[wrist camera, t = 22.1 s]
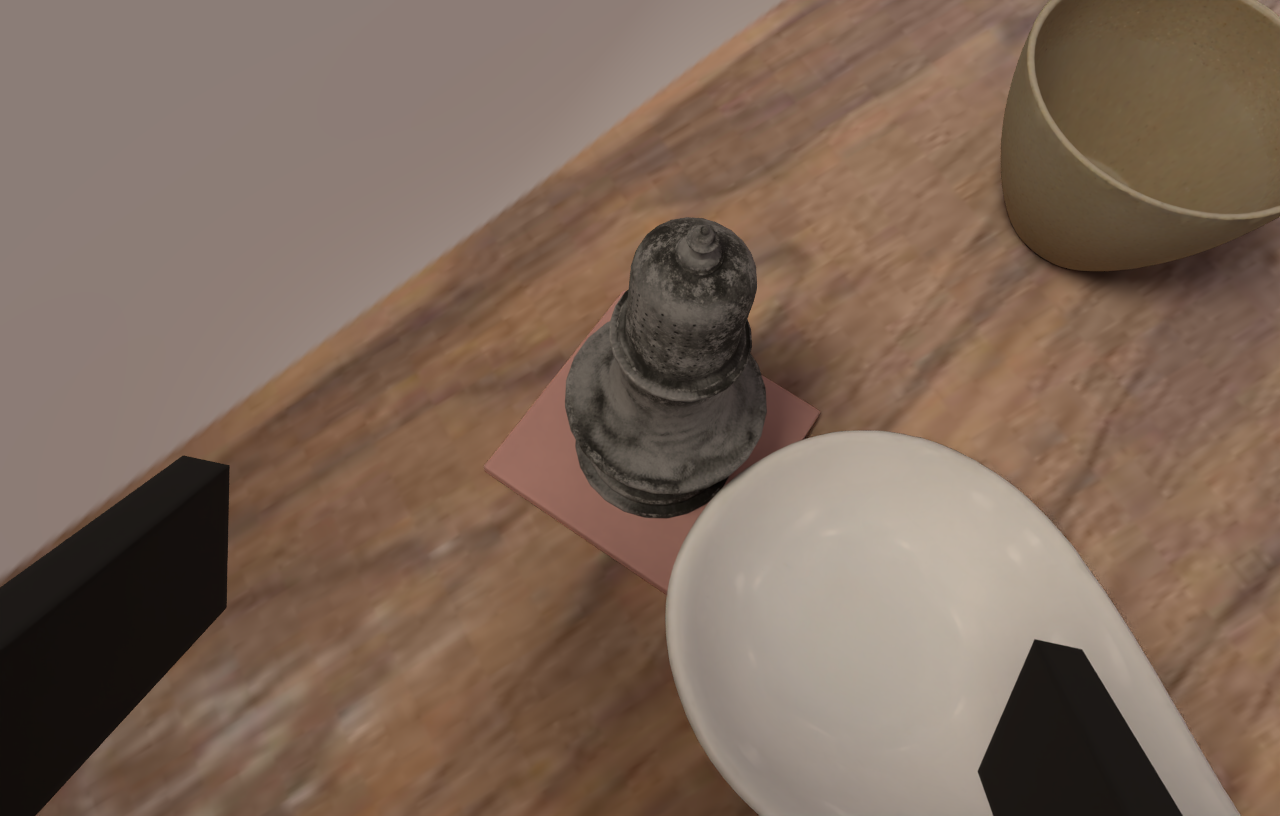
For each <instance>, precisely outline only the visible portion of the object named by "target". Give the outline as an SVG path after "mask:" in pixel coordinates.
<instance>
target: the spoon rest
mask: <svg viewBox="0 0 1280 816" xmlns="http://www.w3.org/2000/svg"><path fill="white" fill-rule="evenodd" d="M665 622H666V639H667V648H668V655H669V661H670V666H671V670H672V674H673V678H674V682H675V685H676V688H677V691H678V694H679V697H680V700H681V702H682V705H683V708H684V711H685V713H686V716H687V719H688V721H689V723H690V725H691V727H692V729H693V731H694V733H695V735H696V737H697V739H698V741H699V743H700V744H701V746H702V747H703V749H704V751H705V752H706V754H707V756H708V757H709V759H710V761H711V762H712V763H713V765H714V766H715V767H716V769H717V770H718V771H719V773H720V774H721V775H722V777H723V778H724V779H725V780H726V782H727V783H728V784H729V785H730V786H731V787H732V788H733V790H734V791H735V792H736V793H737V794H738V795H739V796H740V797H741V798H742V799H743V800H744V801H745V802H746V803H747V804H748V805H749V806H750V807H751V808H752V809H753V810H754V811H755V812H756V813H757V814H758V815H759V816H993V814H992V811H991V808H990V805H989V803H988V800H987V797H986V794H985V791H984V788H983V786H982V783H981V780H980V777H979V774H978V769H979V767H980V764H981V762H982V760H983V757H984V755H985V753H986V750H987V748H988V746H989V743H990V741H991V739H992V736H993V734H994V732H995V730H996V727H997V725H998V723H999V720H1000V718H1001V716H1002V713H1003V711H1004V709H1005V706H1006V704H1007V702H1008V699H1009V697H1010V695H1011V692H1012V690H1013V688H1014V686H1015V683H1016V681H1017V679H1018V676H1019V674H1020V672H1021V669H1022V667H1023V665H1024V662H1025V660H1026V658H1027V655H1028V653H1029V651H1030V648H1031V646H1032V644H1033V642H1034V639H1037V640H1041V641H1046V642H1050V643H1055V644H1060V645H1064V646H1069V647H1074V648H1078V649H1082V650H1083V651H1084V653H1085V655H1086V656H1087V658H1088V660H1089V661H1090V663H1091V665H1092V666H1093V668H1094V670H1095V671H1096V673H1097V675H1098V676H1099V678H1100V680H1101V681H1102V683H1103V684H1104V686H1105V688H1106V689H1107V691H1108V693H1109V694H1110V696H1111V698H1112V699H1113V701H1114V703H1115V704H1116V706H1117V708H1118V709H1119V711H1120V713H1121V714H1122V716H1123V718H1124V719H1125V721H1126V722H1127V724H1128V726H1129V727H1130V729H1131V731H1132V732H1133V734H1134V736H1135V737H1136V739H1137V741H1138V742H1139V744H1140V746H1141V747H1142V749H1143V751H1144V752H1145V754H1146V755H1147V757H1148V759H1149V760H1150V762H1151V764H1152V765H1153V767H1154V769H1155V770H1156V772H1157V774H1158V775H1159V777H1160V779H1161V780H1162V782H1163V784H1164V785H1165V787H1166V788H1167V790H1168V792H1169V793H1170V795H1171V797H1172V798H1173V800H1174V802H1175V803H1176V805H1177V807H1178V808H1179V810H1180V812H1181V813H1182V815H1183V816H1241V815H1240V813H1239V812H1238V810H1237V809H1236V807H1235V805H1234V804H1233V802H1232V801H1231V799H1230V797H1229V796H1228V794H1227V793H1226V791H1225V790H1224V788H1223V787H1222V785H1221V783H1220V781H1219V780H1218V778H1217V776H1216V775H1215V773H1214V771H1213V769H1212V768H1211V766H1210V764H1209V763H1208V761H1207V759H1206V758H1205V756H1204V754H1203V753H1202V751H1201V749H1200V747H1199V746H1198V744H1197V742H1196V741H1195V739H1194V737H1193V735H1192V734H1191V732H1190V730H1189V728H1188V727H1187V725H1186V723H1185V721H1184V719H1183V718H1182V716H1181V714H1180V713H1179V711H1178V710H1177V708H1176V706H1175V705H1174V703H1173V701H1172V699H1171V698H1170V696H1169V694H1168V693H1167V691H1166V689H1165V688H1164V686H1163V684H1162V682H1161V680H1160V679H1159V677H1158V675H1157V673H1156V672H1155V670H1154V668H1153V667H1152V665H1151V663H1150V662H1149V660H1148V659H1147V657H1146V655H1145V654H1144V652H1143V650H1142V649H1141V647H1140V646H1139V644H1138V642H1137V640H1136V639H1135V637H1134V635H1133V634H1132V632H1131V631H1130V629H1129V627H1128V626H1127V624H1126V623H1125V621H1124V620H1123V618H1122V617H1121V615H1120V614H1119V612H1118V611H1117V609H1116V607H1115V606H1114V604H1113V603H1112V601H1111V600H1110V598H1109V597H1108V595H1107V593H1106V592H1105V591H1104V589H1103V588H1102V586H1101V585H1100V584H1099V582H1098V581H1097V579H1096V578H1095V577H1094V575H1093V574H1092V572H1091V571H1090V570H1089V568H1088V567H1087V565H1086V564H1085V563H1084V561H1083V560H1082V558H1081V557H1080V555H1079V554H1078V552H1077V551H1076V550H1075V548H1074V547H1073V545H1072V544H1071V543H1070V542H1069V541H1068V540H1067V538H1066V537H1065V536H1064V535H1063V534H1062V533H1061V532H1060V530H1059V529H1058V528H1057V527H1056V526H1055V525H1054V524H1053V523H1052V521H1051V520H1050V519H1049V518H1048V517H1047V516H1046V515H1045V514H1044V513H1043V512H1042V511H1041V510H1040V509H1039V508H1038V507H1037V506H1036V505H1035V504H1034V503H1033V502H1032V501H1031V500H1030V499H1029V498H1028V497H1026V496H1025V495H1024V494H1023V493H1022V492H1021V491H1019V490H1018V489H1017V488H1016V487H1015V486H1013V485H1012V484H1011V483H1009V482H1008V481H1006V480H1005V479H1004V478H1002V477H1001V476H999V475H998V474H996V473H995V472H993V471H992V470H990V469H988V468H987V467H985V466H983V465H982V464H980V463H979V462H977V461H975V460H973V459H972V458H970V457H968V456H966V455H964V454H962V453H960V452H958V451H956V450H953V449H951V448H948V447H946V446H943V445H941V444H939V443H936V442H933V441H930V440H927V439H924V438H921V437H914V436H910V435H906V434H900V433H895V432H888V431H872V430H861V431H840V432H832V433H828V434H823V435H819V436H815V437H811V438H807V439H804V440H801V441H798V442H795V443H792V444H790V445H788V446H785V447H783V448H781V449H779V450H777V451H775V452H773V453H771V454H769V455H768V456H766V457H764V458H763V459H761V460H759V461H758V462H756V463H754V464H753V465H751V466H750V467H748V468H747V469H745V470H744V471H742V472H741V473H739V474H738V475H737V476H736V477H735V478H733V479H732V480H731V481H730V482H729V483H728V484H726V485H725V486H724V487H723V488H722V489H721V490H720V491H719V492H718V493H717V494H716V495H715V496H714V497H713V498H712V500H711V501H710V502H709V503H708V504H707V506H706V507H705V508H704V510H703V511H702V512H701V514H700V515H699V517H698V518H697V520H696V521H695V523H694V524H693V526H692V528H691V529H690V531H689V533H688V534H687V536H686V538H685V540H684V542H683V544H682V546H681V548H680V550H679V552H678V555H677V557H676V560H675V563H674V565H673V569H672V573H671V576H670V580H669V585H668V591H667V599H666V616H665Z"/></svg>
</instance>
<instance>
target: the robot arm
mask: <svg viewBox="0 0 1280 816" xmlns="http://www.w3.org/2000/svg"><path fill="white" fill-rule="evenodd" d="M228 512H229V465H225V464H220V463H216V462H211V461H206V460H202V459H197V458H192V457H188V456H182V457H180V458H179V459H178V460H176V461H175V462H173V463H172V464H171V465H169V466H168V467H167V468H165V469H164V470H162V471H161V472H160V473H158V474H157V475H155V476H154V477H153V478H151V479H150V480H149V481H147V482H146V483H144V484H143V485H142V486H140V487H139V488H137V489H136V490H135V491H133V492H132V493H131V494H129V495H128V496H126V497H125V498H124V499H122V500H121V501H119V502H118V503H117V504H115V505H114V506H113V507H111V508H110V509H108V510H107V511H106V512H104V513H103V514H101V515H100V516H99V517H97V518H96V519H95V520H93V521H92V522H90V523H89V524H88V525H86V526H85V527H83V528H82V529H81V530H79V531H78V532H77V533H75V534H74V535H72V536H71V537H70V538H68V539H67V540H65V541H64V542H63V543H61V544H60V545H59V546H57V547H56V548H54V549H53V550H52V551H50V552H49V553H47V554H46V555H45V556H43V557H42V558H41V559H39V560H38V561H36V562H35V563H34V564H32V565H31V566H29V567H28V568H27V569H25V570H24V571H23V572H21V573H20V574H18V575H17V576H16V577H14V578H13V579H11V580H10V581H9V582H7V583H6V584H4V585H3V586H2V587H0V816H35V815H36V814H37V813H38V812H39V811H40V810H41V809H42V808H43V807H44V806H45V805H46V804H47V802H48V801H49V800H50V799H51V798H52V797H53V796H54V795H55V794H56V793H57V792H58V790H59V789H60V788H61V787H62V786H63V785H64V784H65V783H66V782H67V781H68V780H69V778H70V777H71V776H72V775H73V774H74V773H75V772H76V771H77V770H78V769H79V768H80V767H81V765H82V764H83V763H84V762H85V761H86V760H87V759H88V758H89V757H90V756H91V755H92V753H93V752H94V751H95V750H96V749H97V748H98V747H99V746H100V745H101V744H102V743H103V741H104V740H105V739H106V738H107V737H108V736H109V735H110V734H111V733H112V732H113V731H114V730H115V728H116V727H117V726H118V725H119V724H120V723H121V722H122V721H123V720H124V719H125V718H126V716H127V715H128V714H129V713H130V712H131V711H132V710H133V709H134V708H135V707H136V706H137V704H138V703H139V702H140V701H141V700H142V699H143V698H144V697H145V696H146V695H147V694H148V693H149V691H150V690H151V689H152V688H153V687H154V686H155V685H156V684H157V683H158V682H159V681H160V679H161V678H162V677H163V676H164V675H165V674H166V673H167V672H168V671H169V670H170V669H171V667H172V666H173V665H174V664H175V663H176V662H177V661H178V660H179V659H180V658H181V657H182V655H183V654H184V653H185V652H186V651H187V650H188V649H189V648H190V647H191V646H192V645H193V644H194V642H195V641H196V640H197V639H198V638H199V637H200V636H201V635H202V634H203V633H204V632H205V630H206V629H207V628H208V627H209V626H210V625H211V624H212V623H213V622H214V621H215V620H216V618H217V617H218V616H219V615H220V614H221V613H222V612H223V611H224V610H225V609H226V607H227V560H228ZM978 774H979V777H980V780H981V783H982V786H983V788H984V791H985V794H986V797H987V800H988V803H989V805H990V808H991V811H992V814H993V816H1183V815H1182V813H1181V812H1180V810H1179V808H1178V807H1177V805H1176V803H1175V802H1174V800H1173V798H1172V797H1171V795H1170V793H1169V792H1168V790H1167V788H1166V787H1165V785H1164V784H1163V782H1162V780H1161V779H1160V777H1159V775H1158V774H1157V772H1156V770H1155V769H1154V767H1153V765H1152V764H1151V762H1150V760H1149V759H1148V757H1147V755H1146V754H1145V752H1144V751H1143V749H1142V747H1141V746H1140V744H1139V742H1138V741H1137V739H1136V737H1135V736H1134V734H1133V732H1132V731H1131V729H1130V727H1129V726H1128V724H1127V722H1126V721H1125V719H1124V718H1123V716H1122V714H1121V713H1120V711H1119V709H1118V708H1117V706H1116V704H1115V703H1114V701H1113V699H1112V698H1111V696H1110V694H1109V693H1108V691H1107V689H1106V688H1105V686H1104V684H1103V683H1102V681H1101V680H1100V678H1099V676H1098V675H1097V673H1096V671H1095V670H1094V668H1093V666H1092V665H1091V663H1090V661H1089V660H1088V658H1087V656H1086V655H1085V653H1084V651H1083V650H1082V649H1078V648H1074V647H1069V646H1064V645H1060V644H1055V643H1050V642H1046V641H1041V640H1037V639H1034V642H1033V644H1032V646H1031V648H1030V651H1029V653H1028V655H1027V658H1026V660H1025V662H1024V665H1023V667H1022V669H1021V672H1020V674H1019V676H1018V679H1017V681H1016V683H1015V686H1014V688H1013V690H1012V692H1011V695H1010V697H1009V699H1008V702H1007V704H1006V706H1005V709H1004V711H1003V713H1002V716H1001V718H1000V720H999V723H998V725H997V727H996V730H995V732H994V734H993V736H992V739H991V741H990V743H989V746H988V748H987V750H986V753H985V755H984V757H983V760H982V762H981V764H980V767H979V769H978Z"/></svg>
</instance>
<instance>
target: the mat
mask: <svg viewBox="0 0 1280 816" xmlns="http://www.w3.org/2000/svg"><path fill="white" fill-rule="evenodd" d="M625 292H626V291H623V292H622V293H621V294H620V295H619V297H618V298H617V299H616V300H615V302H614V303H613V304H612V306H611V307H610V308H609V309H608V311H607V312H606V313H605V314H604V316H603V317H602V318H601V319H600V321H599V322H598V323H597V324H596V326H595V327H594V328H593V329H592V331H591V332H590V333H589V334H588V336H587V337H586V338H585V339H584V341H583V342H582V343H581V344H580V346H579V347H578V348H577V349H576V351H575V352H574V353H573V354H572V356H571V357H570V358H569V360H568V361H567V362H566V363H565V365H564V366H563V367H562V368H561V370H560V371H559V372H558V373H557V375H556V376H555V377H554V378H553V380H552V381H551V382H550V383H549V385H548V386H547V387H546V388H545V390H544V391H543V392H542V393H541V395H540V396H539V397H538V398H537V400H536V401H535V402H534V403H533V405H532V406H531V407H530V409H529V410H528V411H527V412H526V414H525V415H524V416H523V417H522V419H521V420H520V421H519V422H518V424H517V425H516V426H515V427H514V429H513V430H512V431H511V432H510V434H509V435H508V436H507V437H506V439H505V440H504V441H503V442H502V444H501V445H500V446H499V447H498V449H497V450H496V451H495V452H494V454H493V455H492V456H491V457H490V459H489V460H488V461H487V463H486V464H485V465H484V470H485V472H486V473H488V474H489V475H491V476H492V477H494V478H495V479H497V480H498V481H500V482H501V483H503V484H504V485H506V486H507V487H508V488H510V489H511V490H513V491H514V492H516V493H517V494H519V495H520V496H522V497H523V498H525V499H526V500H528V501H529V502H531V503H532V504H534V505H535V506H536V507H538V508H539V509H541V510H542V511H544V512H545V513H547V514H548V515H550V516H551V517H553V518H554V519H556V520H557V521H559V522H560V523H562V524H563V525H564V526H566V527H567V528H569V529H570V530H572V531H573V532H575V533H576V534H578V535H579V536H581V537H582V538H584V539H585V540H587V541H588V542H590V543H591V544H592V545H594V546H595V547H597V548H598V549H600V550H601V551H603V552H604V553H606V554H607V555H609V556H610V557H612V558H613V559H615V560H616V561H618V562H619V563H620V564H622V565H623V566H625V567H626V568H628V569H629V570H631V571H632V572H634V573H635V574H637V575H638V576H640V577H641V578H643V579H644V580H646V581H647V582H648V583H650V584H651V585H653V586H654V587H656V588H657V589H659V590H660V591H662V592H663V593H665V594H666V595H667V591H668V585H669V580H670V576H671V573H672V569H673V565H674V563H675V560H676V557H677V555H678V552H679V550H680V548H681V546H682V544H683V542H684V540H685V538H686V536H687V534H688V533H689V531H690V529H691V528H692V526H693V524H694V523H695V521H696V520H697V518H698V517H699V515H700V514H701V512H702V511H703V510H704V508H705V507H706V506H707V504H708V503H709V502H710V501H711V500H712V499H711V500H710V501H709V502H708V503H707V504H705V505H703V506H701V507H700V508H698V509H696V510H694V511H692V512H690V513H688V514H684V515H680V516H676V517H671V518H644V517H640V516H637V515H634V514H630V513H627V512H624V511H622V510H620V509H619V508H617V507H615V506H614V505H612V504H610V503H608V502H607V501H605V500H604V499H603V498H602V497H601V496H600V495H599V494H598V493H597V492H596V491H595V490H594V489H593V488H592V487H591V486H590V484H589V482H588V480H587V479H586V477H585V475H584V473H583V471H582V470H581V468H580V465H579V460H578V456H577V452H576V448H575V442H576V439H575V437H574V435H573V434H572V432H571V430H570V425H569V421H568V417H567V413H566V409H565V391H566V379H567V376H568V373H569V370H570V368H571V365H572V362H573V359H574V357H575V356H576V354H577V353H578V351H579V350H580V348H581V347H582V346H583V344H584V343H585V341H586V340H587V339H588V337H590V336H591V335H592V334H593V333H595V332H596V331H597V330H598V329H599V328H601V327H602V326H603V325H604V324H606V323H607V322H609V321H610V320H611V317H612V314H613V311H614V308H615V306H616V304H617V303H618V301H619V300H620V298H621V297H622V296H623V294H624V293H625ZM762 378H763V381H764V384H765V387H766V402H767V414H766V418H765V422H764V427H763V431H762V435H761V437H760V439H759V441H758V442H757V444H756V446H755V448H754V449H753V451H752V453H751V454H750V456H749V458H748V459H747V460H746V461H745V462H744V463H743V464H742V465H741V466H740V467H739V468H738V469H737V470H736V471H734V472H733V473H732V474H731V475H730V476H729V478H728V479H727V481H726V483H725V485H726V484H728V483H729V482H730V481H731V480H732V479H733V478H735V477H736V476H737V475H738V474H739V473H741V472H742V471H744V470H745V469H747V468H748V467H750V466H751V465H753V464H754V463H756V462H758V461H759V460H761V459H763V458H764V457H766V456H768V455H769V454H771V453H773V452H775V451H777V450H779V449H781V448H783V447H785V446H788V445H790V444H792V443H795V442H798V441H801V440H803V439H804V438H805V436H806V435H807V433H808V432H809V430H810V428H811V427H812V425H813V424H814V422H815V421H816V419H817V417H818V416H819V414H820V411H819V410H818V409H816V408H814V407H813V406H811V405H810V404H808V403H806V402H805V401H803V400H801V399H800V398H798V397H797V396H795V395H793V394H792V393H790V392H788V391H787V390H785V389H784V388H782V387H780V386H779V385H777V384H776V383H774V382H772V381H771V380H769V379H767V378H766V377H764V376H763V375H762ZM725 485H724V486H725ZM724 486H723V487H724Z"/></svg>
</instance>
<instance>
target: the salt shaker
mask: <svg viewBox="0 0 1280 816" xmlns="http://www.w3.org/2000/svg"><path fill="white" fill-rule="evenodd" d="M756 290H757V277H756V265H755V262H754V260H753V257H752V254H751V252H750V251H749V249H748V248H747V246H746V245H745V243H744V242H743V241H742V240H741V239H740V238H739V237H738V236H737V235H736V234H735V233H733V232H732V231H731V230H729V229H728V228H726V227H724V226H722V225H720V224H718V223H716V222H713V221H710V220H706V219H703V218H680V219H675V220H670V221H668V222H666V223H663V224H661V225H659V226H657V227H656V228H655V229H653V230H652V231H651V232H650V233H648V234H647V235H646V237H645V238H644V239H643V241H642V242H641V244H640V245H639V247H638V248H637V250H636V252H635V255H634V258H633V261H632V265H631V272H630V281H629V290H627V291H626V292H625V293H624V294H623V296H622V297H621V298H620V300H619V301H618V303H617V304H616V306H615V308H614V311H613V314H612V317H611V320H610V321H609V322H607V323H606V324H604V325H603V326H602V327H601V328H599V329H598V330H597V331H596V332H595V333H593V334H592V335H591V336H590V337H588V339H587V340H586V341H585V343H584V344H583V346H582V347H581V348H580V350H579V351H578V353H577V354H576V356H575V357H574V359H573V362H572V365H571V368H570V370H569V373H568V376H567V379H566V391H565V409H566V413H567V417H568V421H569V425H570V430H571V432H572V434H573V435H574V437H575V439H576V442H575V448H576V452H577V456H578V460H579V465H580V468H581V470H582V471H583V473H584V475H585V477H586V479H587V480H588V482H589V484H590V486H591V487H592V488H593V489H594V490H595V491H596V492H597V493H598V494H599V495H600V496H601V497H602V498H603V499H604V500H605V501H607V502H608V503H610V504H612V505H614V506H615V507H617V508H619V509H620V510H622V511H624V512H627V513H630V514H634V515H637V516H640V517H644V518H671V517H676V516H680V515H684V514H688V513H690V512H692V511H694V510H696V509H698V508H700V507H701V506H703V505H705V504H707V503H708V502H709V501H710V500H711V499H712V498H713V497H714V496H715V495H716V494H717V493H718V492H719V491H720V490H721V489H722V488H723V486H724V485H725V483H726V481H727V479H728V478H729V476H730V475H731V474H732V473H733V472H734V471H736V470H737V469H738V468H739V467H740V466H741V465H742V464H743V463H744V462H745V461H746V460H747V459H748V458H749V456H750V454H751V453H752V451H753V449H754V448H755V446H756V444H757V442H758V441H759V439H760V437H761V435H762V431H763V427H764V422H765V418H766V414H767V402H766V387H765V384H764V381H763V378H762V375H761V372H760V369H759V366H758V364H757V363H756V361H755V360H754V358H753V357H752V355H751V354H750V352H751V348H752V339H751V328H750V325H749V322H748V319H747V318H748V315H749V313H750V310H751V307H752V304H753V302H754V298H755V294H756Z"/></svg>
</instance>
